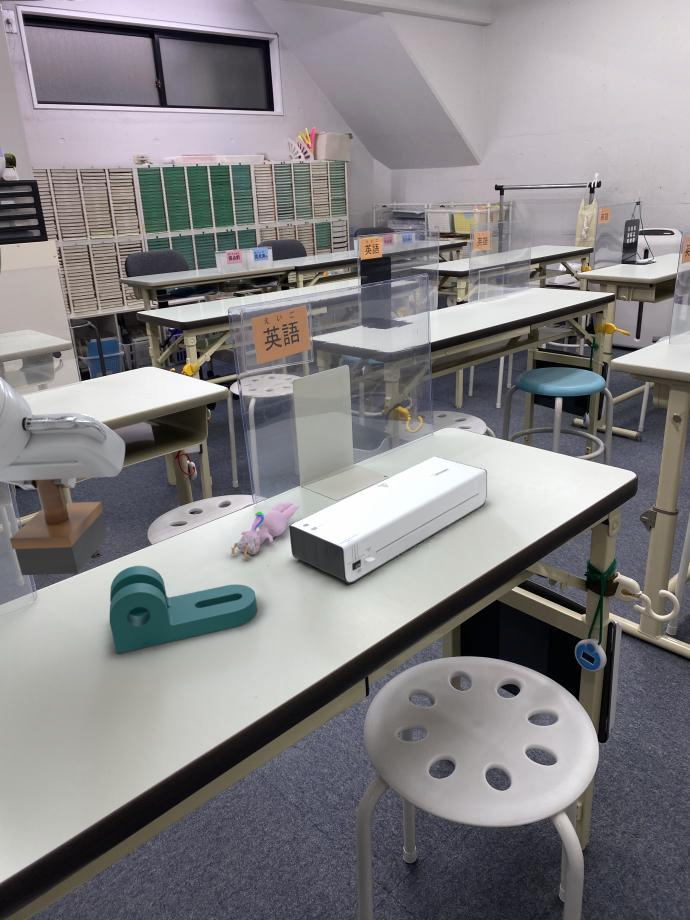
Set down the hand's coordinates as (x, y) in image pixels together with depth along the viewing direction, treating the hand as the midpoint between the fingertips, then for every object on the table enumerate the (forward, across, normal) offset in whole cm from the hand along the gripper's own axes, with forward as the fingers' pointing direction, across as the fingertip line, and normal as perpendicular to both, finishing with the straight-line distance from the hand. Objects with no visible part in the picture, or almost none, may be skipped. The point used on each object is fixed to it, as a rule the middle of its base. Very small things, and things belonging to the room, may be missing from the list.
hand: (51, 482), depth 72 cm
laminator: (+41, -36, -6) cm, 55 cm away
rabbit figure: (+40, -15, -5) cm, 43 cm away
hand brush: (+6, 0, +6) cm, 8 cm away
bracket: (+24, -8, +10) cm, 28 cm away
